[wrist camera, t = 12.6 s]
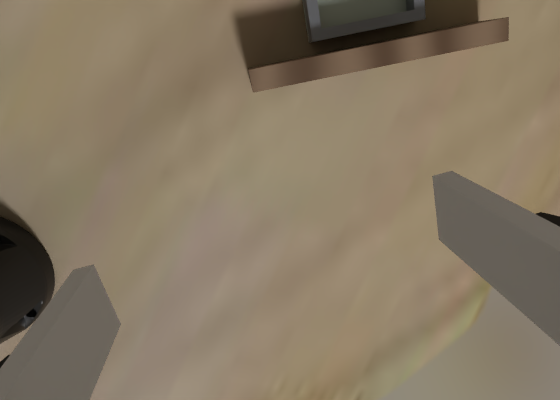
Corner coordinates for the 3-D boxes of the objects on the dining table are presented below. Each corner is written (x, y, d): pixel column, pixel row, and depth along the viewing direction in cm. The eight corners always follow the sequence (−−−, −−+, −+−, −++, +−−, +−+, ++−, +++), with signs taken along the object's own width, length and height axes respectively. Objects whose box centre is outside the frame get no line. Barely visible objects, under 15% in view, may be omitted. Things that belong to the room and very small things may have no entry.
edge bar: (252, 88, 42) (253, 92, 37) (248, 68, 41) (248, 70, 36) (478, 42, 42) (508, 40, 37) (478, 21, 41) (508, 17, 36)
